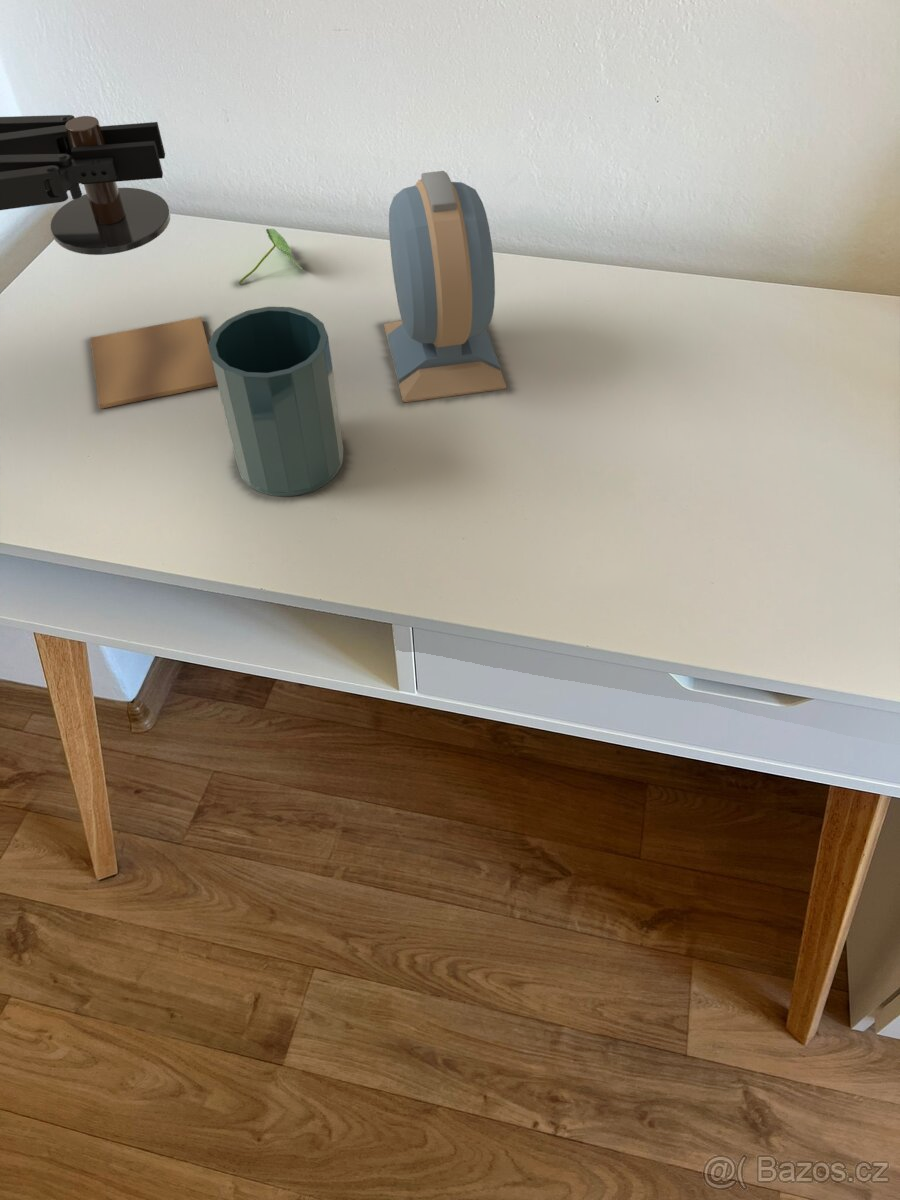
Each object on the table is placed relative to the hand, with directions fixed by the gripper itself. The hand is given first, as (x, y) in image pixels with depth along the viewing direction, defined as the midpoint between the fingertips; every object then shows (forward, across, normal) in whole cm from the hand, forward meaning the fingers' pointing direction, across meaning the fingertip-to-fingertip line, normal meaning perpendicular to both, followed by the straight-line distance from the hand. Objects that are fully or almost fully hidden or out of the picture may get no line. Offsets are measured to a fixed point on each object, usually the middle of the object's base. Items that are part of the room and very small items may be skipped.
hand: (159, 149), depth 82 cm
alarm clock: (+23, +3, -21) cm, 31 cm away
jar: (+8, +16, -20) cm, 27 cm away
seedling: (+6, -15, -21) cm, 26 cm away
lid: (-5, 0, -6) cm, 8 cm away
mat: (-5, 0, -21) cm, 21 cm away
